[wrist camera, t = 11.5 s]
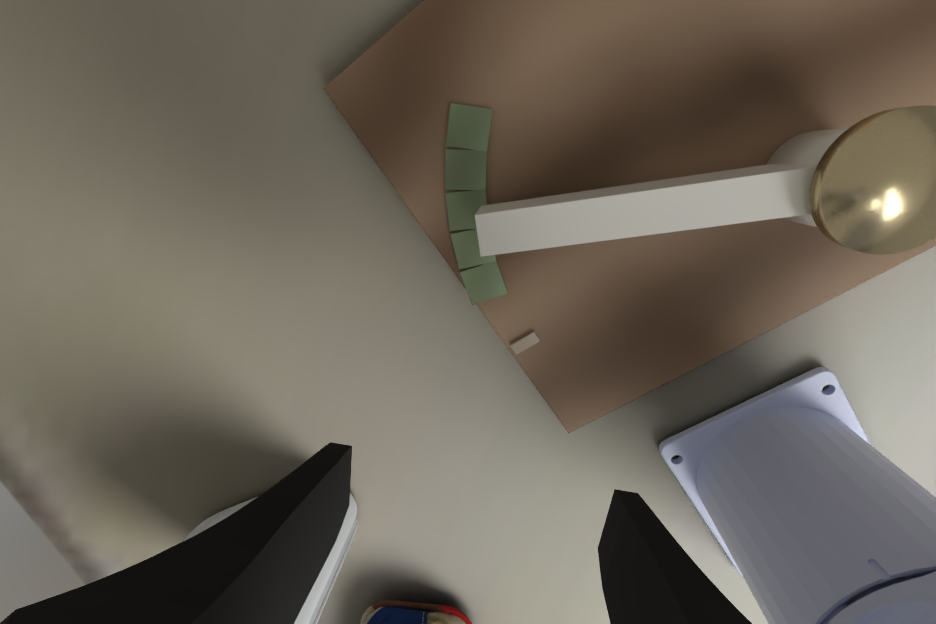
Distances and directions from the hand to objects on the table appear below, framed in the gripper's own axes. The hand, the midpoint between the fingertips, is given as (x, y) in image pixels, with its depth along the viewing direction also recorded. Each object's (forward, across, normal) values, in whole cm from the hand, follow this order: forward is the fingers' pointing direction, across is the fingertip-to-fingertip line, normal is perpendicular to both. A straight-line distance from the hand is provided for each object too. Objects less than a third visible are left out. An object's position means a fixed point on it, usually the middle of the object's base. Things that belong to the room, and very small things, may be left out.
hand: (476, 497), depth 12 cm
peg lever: (+8, -6, -8) cm, 13 cm away
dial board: (+9, -6, -11) cm, 16 cm away
